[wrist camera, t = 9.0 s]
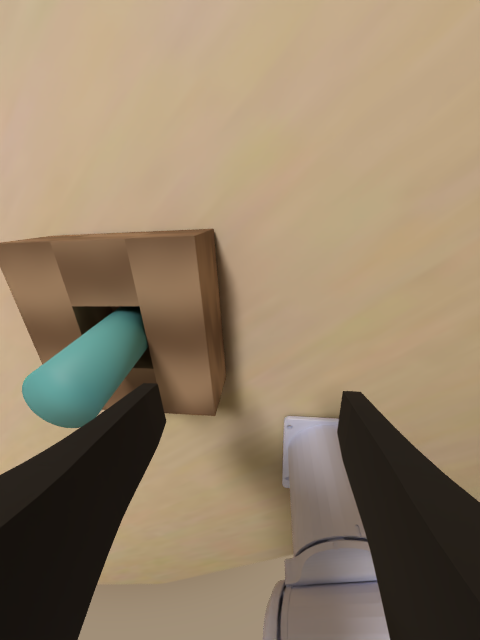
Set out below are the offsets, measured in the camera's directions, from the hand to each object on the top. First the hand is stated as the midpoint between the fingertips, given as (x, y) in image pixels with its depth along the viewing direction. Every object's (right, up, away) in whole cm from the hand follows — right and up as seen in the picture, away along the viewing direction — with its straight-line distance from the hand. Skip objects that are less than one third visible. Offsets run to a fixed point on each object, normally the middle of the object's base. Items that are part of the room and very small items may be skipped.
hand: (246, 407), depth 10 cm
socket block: (-8, +4, +10) cm, 13 cm away
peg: (-8, +4, +9) cm, 12 cm away
